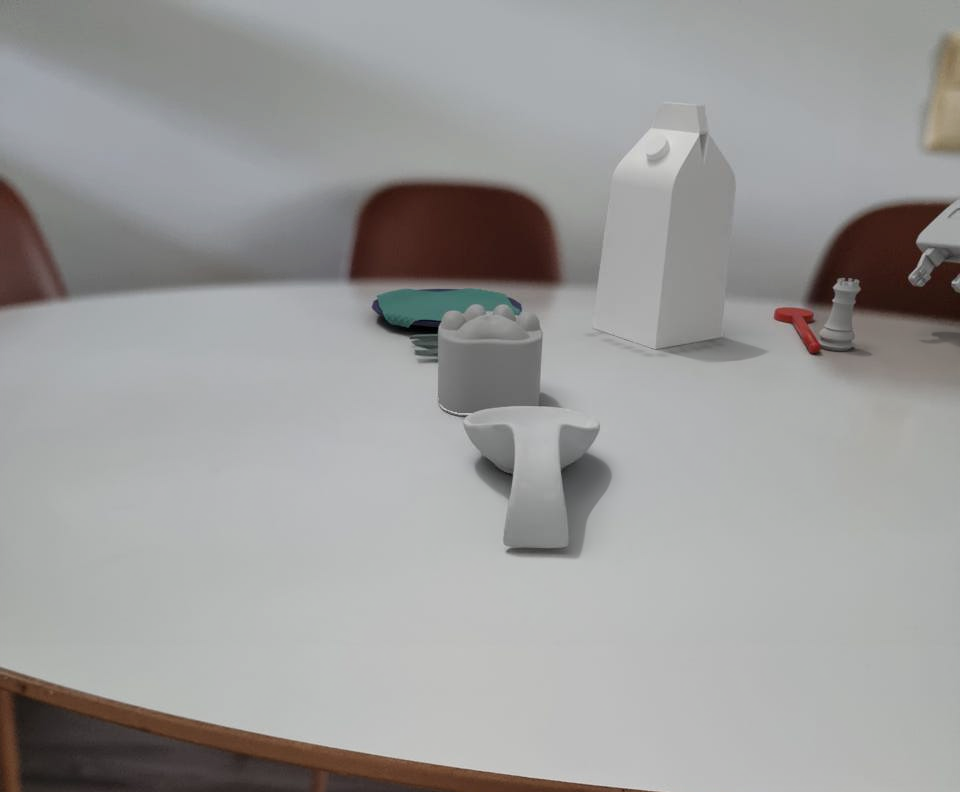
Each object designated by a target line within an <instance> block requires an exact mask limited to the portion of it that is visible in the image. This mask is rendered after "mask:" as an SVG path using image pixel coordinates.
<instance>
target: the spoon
mask: <svg viewBox="0 0 960 792" xmlns="http://www.w3.org/2000/svg"><path fill="white" fill-rule="evenodd" d="M814 316H815V313H814V312H813V311H812V310H809V309H806V308H802V307H801V308H800V307H789V306H785V307H777V308H776V309H774V313H773V318H774V319H775V320H777V321H779V322H783V323H788V324H793V326H794V327H795V329H796V331H797V333H798V334H799V336H800V337H801V339H802V341H803V343H804V344H805V346H806V348H807V349H808V351H809V352H810V354H813V355H816V354H818V353H819V352H820V351H821V349H822V348H821V345H820V343H819V342H818V340H819V339H817V337H816V335H815V334H814V333H813V331H812V329H811V328H810V326H809V325H808V323H812V322H813V320H814Z"/></svg>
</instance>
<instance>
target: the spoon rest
mask: <svg viewBox="0 0 960 792" xmlns="http://www.w3.org/2000/svg"><path fill="white" fill-rule="evenodd" d="M462 421H463V422H462V425H463V428H464V430H465V433H466V436H467V438H468V439H469V440H470V442H471V444H472V445H473V446H474V447H475V449H476V450H477V451H478V452H480V453H481V454H482V455H483V457H485V458H486V459H487V460H489V461H490V462H492V463H493V464H494V466H495V467H496V466H497V467H498V468H499V469H498V468H497V467H496V468H497V469H498V470H500V469H501V470H500V471H502V470H503V471H504V472H503V471H502V472H503V473H506V472H507V473H506V474H509V473H511V474H510V475H512V481H511V489H510V494H509V499H508V504H507V510H506V516H505V521H504V528H503V537H502V543H503V545H504V546H505V547H509V548H529V549H532V548H533V549H561V548H565V547H568V546H569V523H568V513H567V506H566V499H565V493H564V486H563V479H562V478H563V477H562V470H563V469H564V468H566V467H567V466H569V465H571V464H572V463H574V462H576V461H577V460H578V459H580V458H581V457H582V456H583V455H584V454H585V453H587V451H588V450H589V449H590V448H591V447H592V445H593V444H594V442H595V441H596V439H597V437H598V435H599V433H600V430H601V423H600V421H599V420H598V419H597V418H596V417H594V416H592V415H590V414H588V413H584V412H582V411H579V410H575V409H572V408H571V409H570V408H564V407H555V406H544V405H543V406H540V405H539V406H510V407H499V408H491V409H485V410H480V411H477V412H474V413H472V414H470V415H468V416H465V417H464V419H463V420H462Z"/></svg>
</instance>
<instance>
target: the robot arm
mask: <svg viewBox="0 0 960 792" xmlns="http://www.w3.org/2000/svg"><path fill="white" fill-rule="evenodd" d="M915 244H916V246H917V248H918V249H919V250H920V252H921V253H922V254H921V257H920V259H919V261H918V262H917V265H916V267H915V268H914V270H913V271H912V272H910V274H909V275H908V277H907V278H908V279H907V280H908V282H909V283H910V284H911V285H912V286H913V287H919V288H922V287H924V286H925V285H926V284H927V283H928V282H929V281H930V280H931V279H932V276H931V273H932V272H933V270H934V269H935V267H939V266H940V265H941V264H942V263H943V262H945V263H953V264H960V198H958V199H957V200H955V201H954V202H952V203H951V204H950V205H949V206H947V207H946V208H945V209H944V210H943V211H942V212H941V213H939V215H938V216H936V217H935V218H934V219H933V220H932V221H931V222H930V223H929V224H928V225H927V226H926V227H925V228H924V229H923V230H922V231H921V232H920V233H919V235H918V236H917V239H916V241H915ZM950 286H951V287H952V288H953V290H954V291H955V292H956V293H959V294H960V273H958V274H957V276H956V277H955V278H954V279H953V280H952V281H951V283H950Z"/></svg>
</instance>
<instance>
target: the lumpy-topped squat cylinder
mask: <svg viewBox="0 0 960 792" xmlns="http://www.w3.org/2000/svg"><path fill="white" fill-rule="evenodd" d="M540 323H541V322H540V320H539V317H538V316H537V315H536V314H535V313H533V312H532V311H524V312H523V313H522V312H521V313H520V315H519V316H517V315H514V313H513V311H512V309H511V308H510V307H509V306H508V305H499V306H497V307H496V308H495V309H494V311H485V309H484V308H483V307H482V306H481V305H478V304H474V305H472V306H470V307H469V308H468V309H467V310H466V311H465V313H464V314H461V313H460V312H459V311H448V312H446V313H445V314H444V316H443V318H442V321H441V323H440V325H439V327H437V328H438V330H437V334H438V355H437V399H438V398H439V401H438V400H437V402H438V405H439V408H440V409H441V410H442V411H443V412H445V413H446V414H450V415H454V416H459V417H467V416H468V415H458V414H453V413H450V412H447V411H445V410H444V409H442V408H441V407H440V404H441V405H442V406H443V407H444V408H446V409H447V410H450V411H453V412H457V413H474V412H477V411H480V410H485V409H491V408H499V407H510V406H540V389H541V375H542V374H541V371H542V355H543V339H544V337H543V335H544V334H543V333H544V332H543V330H542V328H541V324H540ZM439 402H440V404H439Z"/></svg>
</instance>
